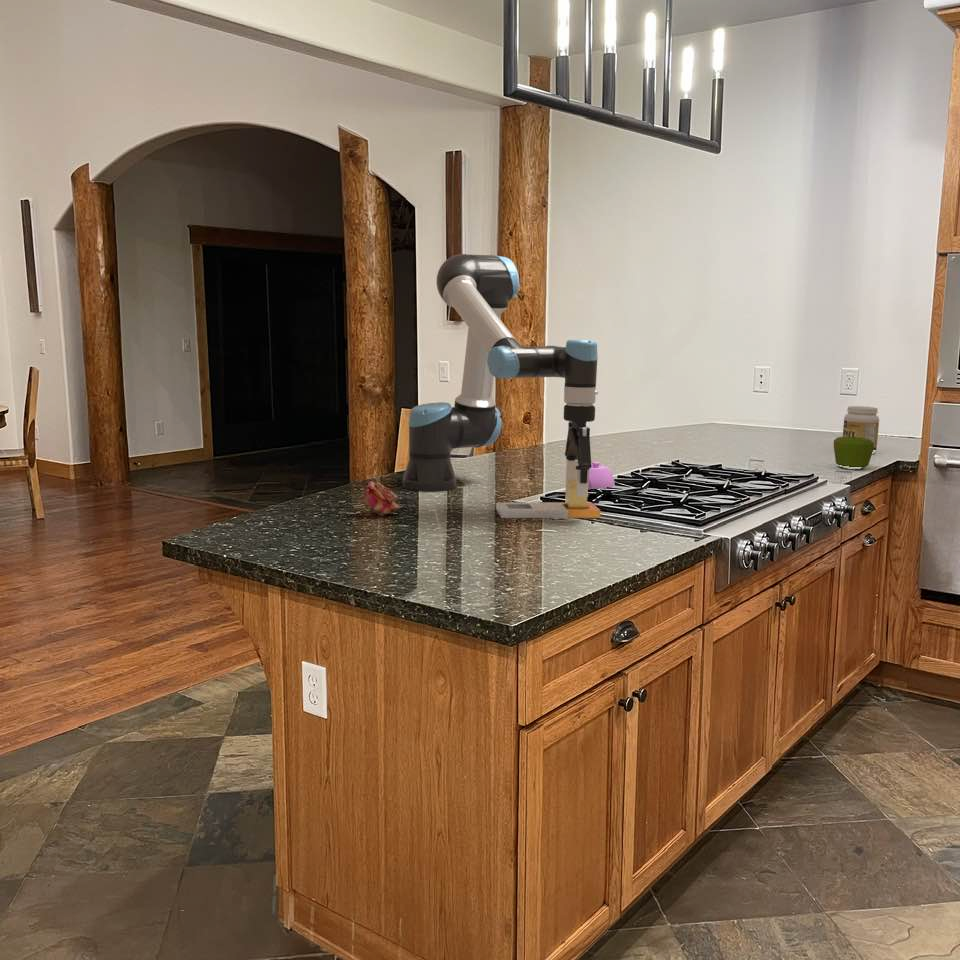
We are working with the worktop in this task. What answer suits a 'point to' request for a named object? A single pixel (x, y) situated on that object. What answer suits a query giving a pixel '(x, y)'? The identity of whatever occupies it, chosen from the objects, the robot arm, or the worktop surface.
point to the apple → (853, 451)
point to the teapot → (600, 477)
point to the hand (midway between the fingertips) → (576, 491)
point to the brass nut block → (574, 497)
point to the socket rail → (544, 510)
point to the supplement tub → (862, 423)
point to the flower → (380, 499)
